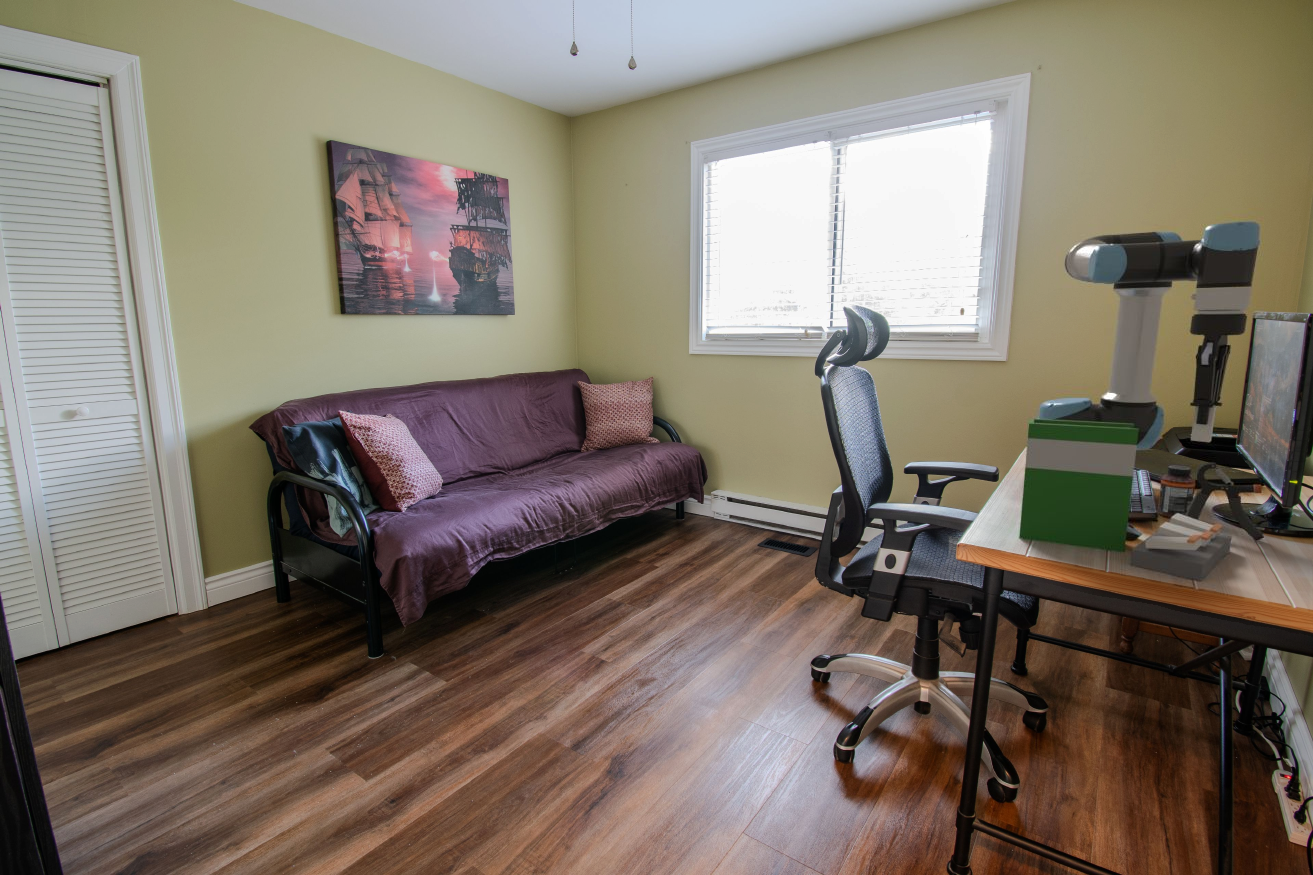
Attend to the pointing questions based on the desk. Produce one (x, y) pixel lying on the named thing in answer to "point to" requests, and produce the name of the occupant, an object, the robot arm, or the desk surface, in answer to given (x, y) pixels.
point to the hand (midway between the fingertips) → (1200, 440)
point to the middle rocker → (1183, 532)
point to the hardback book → (1078, 483)
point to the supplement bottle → (1176, 491)
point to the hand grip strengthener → (1232, 496)
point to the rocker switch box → (1182, 558)
